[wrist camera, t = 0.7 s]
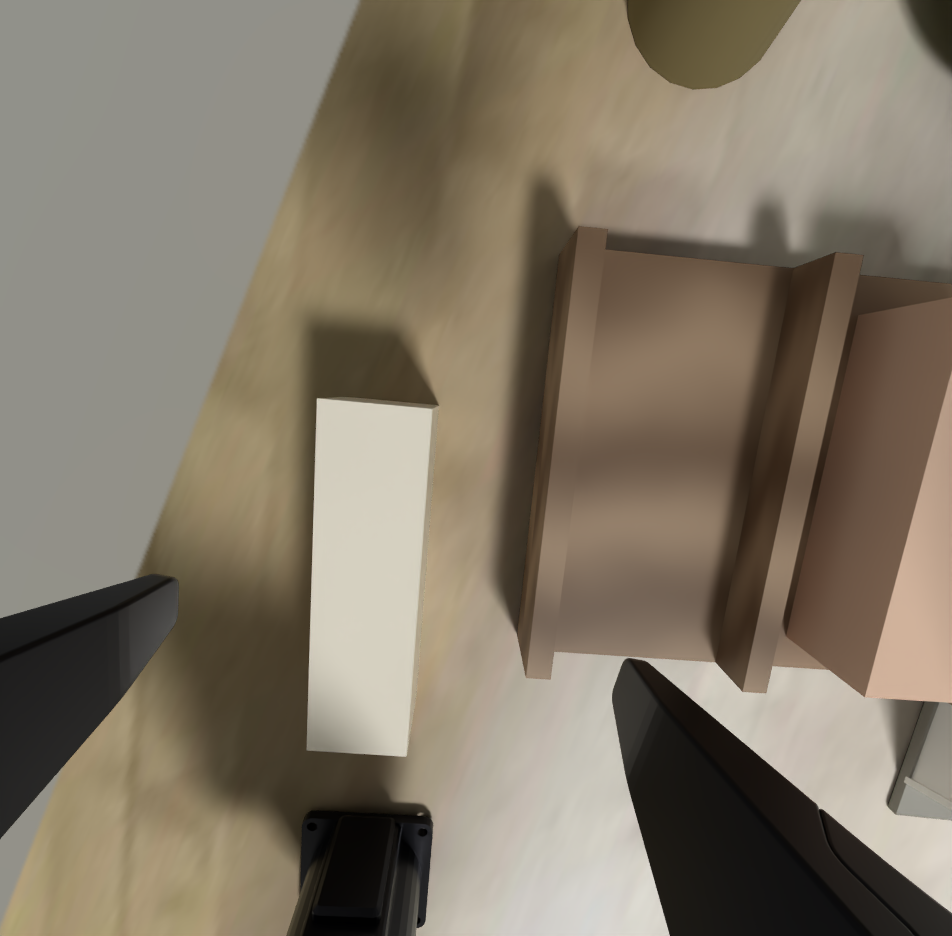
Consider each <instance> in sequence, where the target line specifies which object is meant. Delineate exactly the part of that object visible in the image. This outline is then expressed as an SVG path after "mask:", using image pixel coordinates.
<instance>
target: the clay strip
mask: <svg viewBox="0 0 952 936" xmlns="http://www.w3.org/2000/svg"><path fill="white" fill-rule="evenodd" d="M438 412H439V405H430V404H419V403H408V402H397V401H386V400H376V399H365V398H354V397H333V398H317V415H316V449H315V483H314V516H313V550H312V584H311V618H310V652H309V685H308V719H307V751H322V752H338V753H355V754H371V755H387V756H403V757H407V751H408V745H409V739H410V732H411V726H412V720H413V714H414V708H415V702H416V695H417V684H418V671H419V658H420V645H421V632H422V619H423V606H424V593H425V580H426V568H427V555H428V542H429V529H430V516H431V503H432V490H433V477H434V464H435V451H436V438H437V425H438Z"/></svg>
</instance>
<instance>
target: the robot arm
mask: <svg viewBox="0 0 952 936" xmlns="http://www.w3.org/2000/svg"><path fill="white" fill-rule="evenodd" d="M178 597H179V584H178V580H177V579H176V578H175V577H170V576H165V575H159V574H151V575H148V576H144V577H141V578H137V579H134V580H130V581H127V582H124V583H121V584H117V585H113V586H110V587H106V588H103V589H100V590H96V591H93V592H89V593H86V594H82V595H79V596H76V597H72V598H69V599H66V600H62V601H58V602H55V603H52V604H48V605H45V606H41V607H38V608H35V609H31V610H27V611H24V612H21V613H17V614H14V615H11V616H7V617H3V618H0V839H1V837H2V836H3V835H4V834H5V833H6V832H7V830H8V829H9V828H10V827H11V826H12V825H13V824H14V822H15V821H16V820H17V819H18V818H19V817H20V815H21V814H22V813H23V812H24V811H25V810H26V809H27V807H28V806H29V805H30V804H31V803H32V802H33V800H34V799H35V798H36V797H37V796H38V795H39V793H40V792H41V791H42V790H43V789H44V788H45V787H46V785H47V784H48V783H49V782H50V781H51V780H52V779H53V777H54V776H55V775H56V774H57V773H58V772H59V771H60V769H61V768H62V767H63V766H64V765H65V764H66V762H67V761H68V760H69V759H70V758H71V757H72V756H73V754H74V753H75V752H76V751H77V750H78V749H79V747H80V746H81V745H82V744H83V743H84V742H85V741H86V739H87V738H88V737H89V736H90V735H91V734H92V732H93V731H94V730H95V729H96V728H97V727H98V726H99V724H100V723H101V722H102V721H103V720H104V719H105V717H106V716H107V715H108V714H109V713H110V712H111V710H112V709H113V708H114V707H115V706H116V704H117V703H118V702H119V701H120V700H121V698H122V697H123V696H124V694H125V693H126V692H127V690H128V689H129V688H130V687H131V685H132V684H133V682H134V681H135V680H136V678H137V677H138V675H139V674H140V673H141V671H142V670H143V668H144V667H145V666H146V664H147V663H148V661H149V660H150V659H151V657H152V656H153V655H154V653H155V652H156V650H157V649H158V648H159V646H160V645H161V643H162V642H163V641H164V639H165V638H166V636H167V635H168V634H169V632H170V631H171V629H172V628H173V626H174V625H175V623H176V620H177V617H178ZM612 703H613V709H614V714H615V720H616V725H617V731H618V736H619V742H620V748H621V753H622V759H623V764H624V770H625V774H626V779H627V784H628V787H629V791H630V795H631V799H632V802H633V806H634V809H635V813H636V817H637V820H638V824H639V827H640V831H641V834H642V838H643V841H644V845H645V849H646V852H647V856H648V859H649V863H650V866H651V870H652V873H653V877H654V881H655V884H656V888H657V891H658V895H659V898H660V902H661V905H662V909H663V913H664V916H665V920H666V923H667V927H668V930H669V934H670V936H952V913H951V912H949V911H948V910H947V909H946V908H944V907H943V906H942V905H940V904H939V903H938V902H936V901H935V900H934V899H933V898H931V897H930V896H929V895H928V894H926V893H925V892H924V891H922V890H921V889H920V888H919V887H917V886H916V885H915V884H914V883H912V882H911V881H910V880H908V879H907V878H906V877H905V876H903V875H902V874H901V873H900V872H898V871H897V870H896V869H894V868H893V867H892V866H891V865H889V864H888V863H887V862H886V861H884V860H883V859H882V858H881V857H879V856H878V855H877V854H876V853H875V852H873V851H872V850H871V849H870V848H869V847H867V846H866V845H865V844H864V843H862V842H861V841H860V840H859V839H858V838H856V837H855V836H854V835H853V834H851V833H850V832H849V831H848V830H847V829H845V828H844V827H843V826H842V825H841V824H839V823H838V822H837V821H836V820H835V819H834V818H832V817H831V816H830V815H829V814H828V813H826V812H825V811H824V810H822V809H819V808H818V806H817V804H816V803H814V802H813V801H812V800H811V799H810V798H808V797H807V796H806V795H805V794H804V793H803V792H801V791H800V790H799V789H798V788H797V787H795V786H794V785H793V784H792V783H791V782H789V781H788V780H787V779H786V778H785V777H783V776H782V775H781V774H780V773H779V772H778V771H776V770H775V769H774V768H773V767H772V766H770V765H769V764H768V763H767V762H766V761H764V760H763V759H762V758H761V757H760V756H758V755H757V754H756V753H755V752H754V751H753V750H751V749H750V748H749V747H748V746H747V745H745V744H744V743H743V742H742V741H741V740H739V739H738V738H737V737H736V736H735V735H733V734H732V733H731V732H730V731H729V730H728V729H726V728H725V727H724V726H723V725H722V724H720V723H719V722H718V721H717V720H716V719H714V718H713V717H712V716H711V715H710V714H708V713H707V712H706V711H705V710H704V709H703V708H701V707H700V706H699V705H698V704H697V703H695V702H694V701H693V700H692V699H691V698H689V697H688V696H687V695H686V694H685V693H684V692H682V691H681V690H680V689H679V688H678V687H676V686H675V685H674V684H673V683H672V682H670V681H669V680H668V679H667V678H666V677H664V676H663V675H662V674H661V673H660V672H659V671H657V670H656V669H655V668H654V667H653V666H651V665H650V664H649V663H648V662H646V661H643V660H637V659H632V658H627V659H625V660H624V662H623V664H622V666H621V669H620V672H619V674H618V677H617V680H616V683H615V686H614V688H613V693H612ZM312 822H313V823H312ZM422 828H425V829H422ZM432 834H433V822H432V820H431V819H430V818H428V817H425V816H408V815H389V814H369V813H350V812H331V811H310V812H308V813H307V814H306V816H305V818H304V821H303V824H302V846H301V893H300V896H299V899H298V902H297V905H296V908H295V911H294V914H293V917H292V920H291V923H290V926H289V929H288V932H287V935H286V936H416V928H419V927H422V926H423V925H424V924H425V919H426V907H427V895H428V883H429V870H430V858H431V846H432Z"/></svg>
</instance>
